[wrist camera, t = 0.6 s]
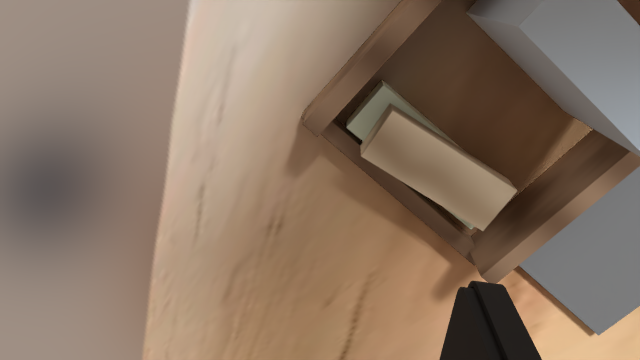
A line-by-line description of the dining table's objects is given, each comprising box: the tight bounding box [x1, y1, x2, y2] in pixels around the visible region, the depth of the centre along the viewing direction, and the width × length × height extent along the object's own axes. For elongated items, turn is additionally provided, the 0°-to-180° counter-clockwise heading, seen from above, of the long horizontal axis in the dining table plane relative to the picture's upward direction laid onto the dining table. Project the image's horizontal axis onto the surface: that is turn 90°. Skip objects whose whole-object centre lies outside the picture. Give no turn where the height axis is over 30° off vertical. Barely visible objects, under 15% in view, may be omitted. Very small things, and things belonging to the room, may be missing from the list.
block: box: [466, 0, 640, 156], centre depth 29 cm, size 4×10×11 cm, turn 49°
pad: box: [519, 166, 640, 335], centre depth 38 cm, size 12×12×1 cm
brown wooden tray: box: [301, 0, 640, 284], centre depth 31 cm, size 25×17×7 cm
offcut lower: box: [346, 80, 475, 230], centre depth 36 cm, size 4×12×2 cm, turn 51°
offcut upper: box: [360, 103, 517, 231], centre depth 34 cm, size 4×10×2 cm, turn 58°
